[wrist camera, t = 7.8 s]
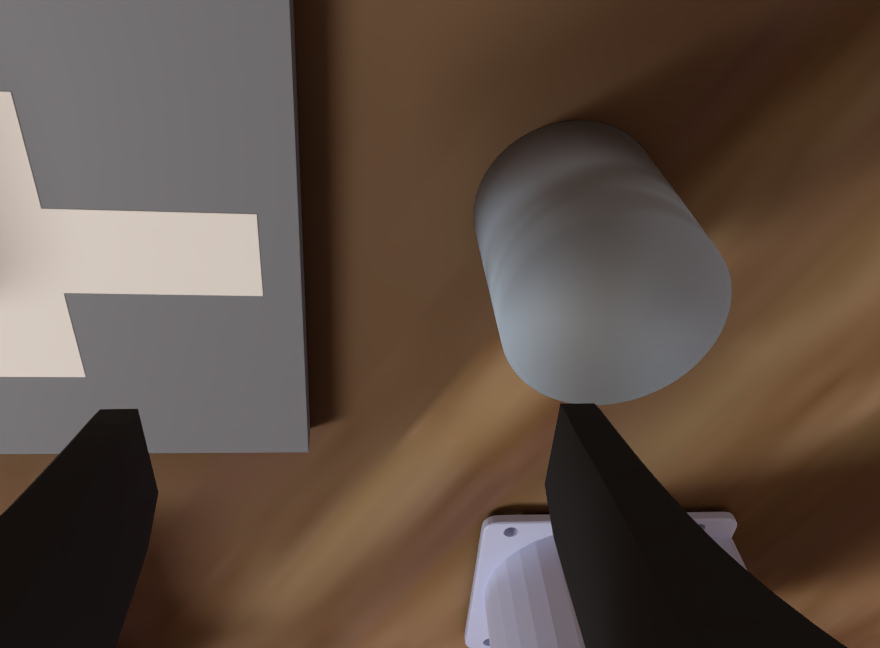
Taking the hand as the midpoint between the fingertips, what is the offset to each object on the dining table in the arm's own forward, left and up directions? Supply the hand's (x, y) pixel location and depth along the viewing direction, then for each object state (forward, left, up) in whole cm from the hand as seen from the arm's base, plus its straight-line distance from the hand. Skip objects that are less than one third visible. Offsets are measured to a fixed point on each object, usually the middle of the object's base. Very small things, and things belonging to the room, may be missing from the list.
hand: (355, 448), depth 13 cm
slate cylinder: (-5, 0, -8) cm, 10 cm away
